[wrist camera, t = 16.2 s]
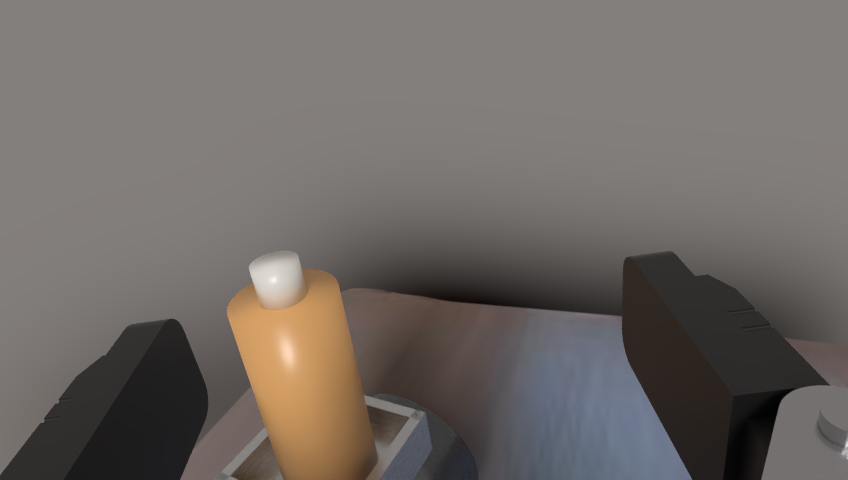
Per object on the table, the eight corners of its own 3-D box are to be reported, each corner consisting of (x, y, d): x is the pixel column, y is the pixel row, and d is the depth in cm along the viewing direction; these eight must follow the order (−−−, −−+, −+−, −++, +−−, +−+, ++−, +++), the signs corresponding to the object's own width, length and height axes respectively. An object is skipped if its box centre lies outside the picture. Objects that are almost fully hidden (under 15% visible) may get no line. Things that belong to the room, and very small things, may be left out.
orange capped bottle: (321, 422, 38) (268, 231, 32) (395, 444, 35) (352, 241, 29) (264, 488, 34) (190, 283, 27) (343, 520, 31) (280, 301, 25)
